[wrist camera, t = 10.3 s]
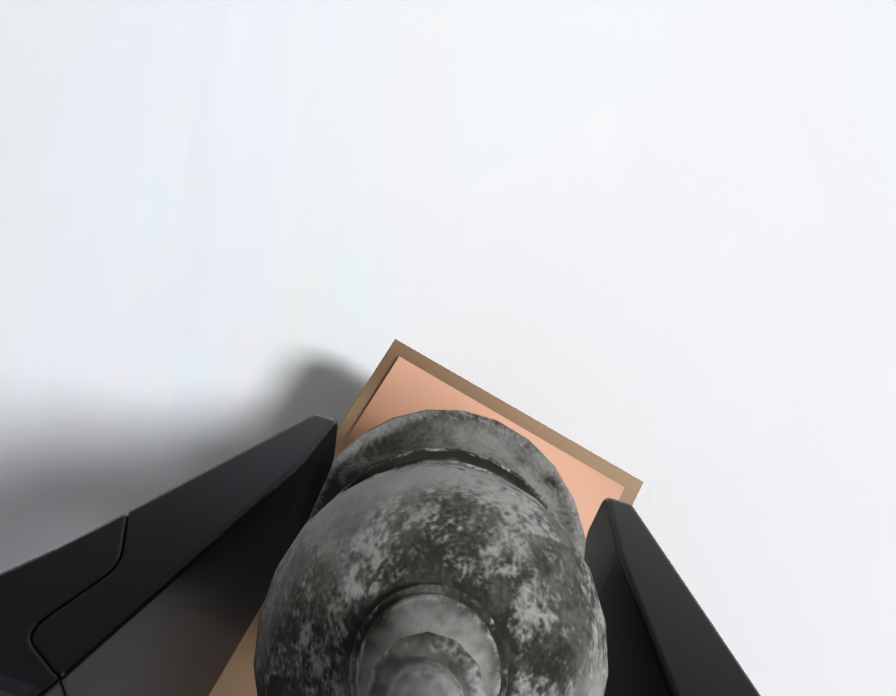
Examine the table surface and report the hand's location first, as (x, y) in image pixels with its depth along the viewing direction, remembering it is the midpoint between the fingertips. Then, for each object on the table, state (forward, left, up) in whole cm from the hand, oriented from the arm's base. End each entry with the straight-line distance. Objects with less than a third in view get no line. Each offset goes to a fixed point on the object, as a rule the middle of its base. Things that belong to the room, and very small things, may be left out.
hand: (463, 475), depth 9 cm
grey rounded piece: (-1, 0, -6) cm, 6 cm away
